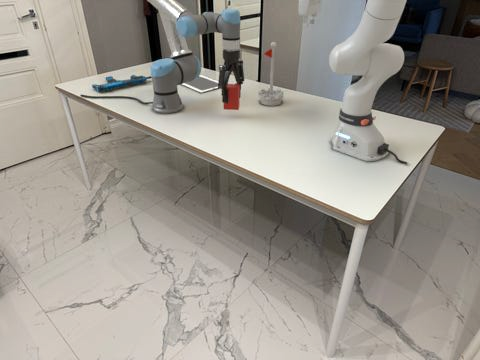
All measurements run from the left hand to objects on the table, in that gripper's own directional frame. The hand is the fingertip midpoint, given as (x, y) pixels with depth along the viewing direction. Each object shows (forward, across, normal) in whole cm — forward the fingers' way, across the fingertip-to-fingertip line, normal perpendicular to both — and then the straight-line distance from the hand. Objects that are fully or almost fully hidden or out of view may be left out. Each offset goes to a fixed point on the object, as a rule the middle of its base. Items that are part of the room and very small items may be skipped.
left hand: (231, 99), depth 159 cm
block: (+4, 0, 0) cm, 4 cm away
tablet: (+9, -27, -50) cm, 57 cm away
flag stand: (+8, -28, +3) cm, 29 cm away
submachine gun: (+10, +5, -85) cm, 86 cm away
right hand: (-31, -30, +19) cm, 47 cm away
